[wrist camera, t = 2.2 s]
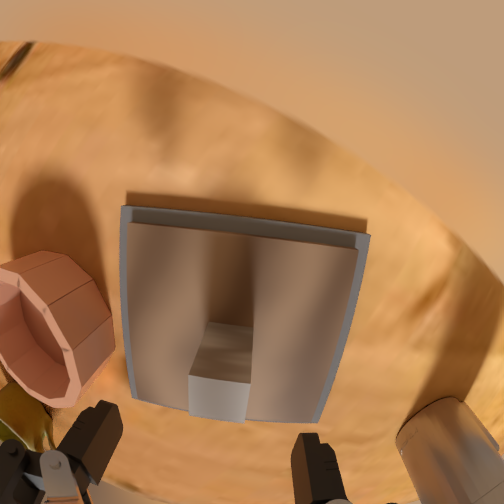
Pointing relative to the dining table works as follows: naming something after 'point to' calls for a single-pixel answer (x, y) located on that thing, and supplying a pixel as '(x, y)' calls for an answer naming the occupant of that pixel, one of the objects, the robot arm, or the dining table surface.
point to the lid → (234, 320)
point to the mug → (24, 418)
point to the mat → (256, 228)
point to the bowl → (53, 327)
